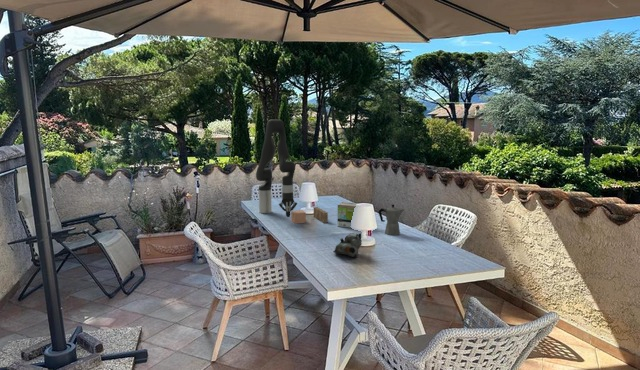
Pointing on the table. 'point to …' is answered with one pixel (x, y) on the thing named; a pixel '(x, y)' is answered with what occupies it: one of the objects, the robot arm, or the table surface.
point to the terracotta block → (298, 216)
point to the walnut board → (321, 215)
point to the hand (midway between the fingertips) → (288, 216)
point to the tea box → (345, 214)
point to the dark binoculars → (349, 245)
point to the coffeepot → (391, 220)
